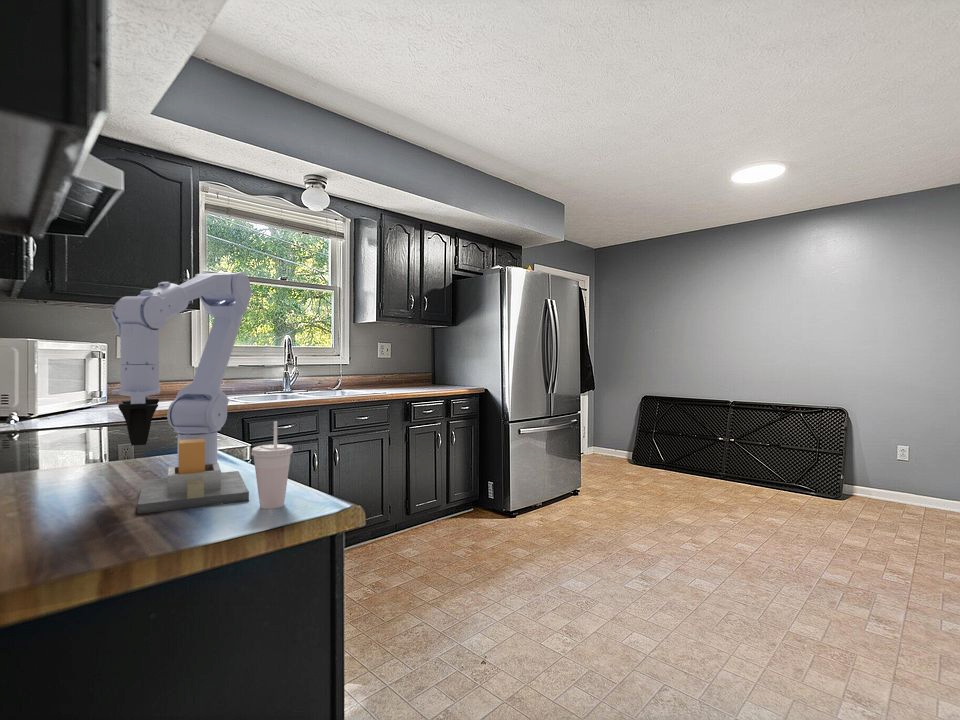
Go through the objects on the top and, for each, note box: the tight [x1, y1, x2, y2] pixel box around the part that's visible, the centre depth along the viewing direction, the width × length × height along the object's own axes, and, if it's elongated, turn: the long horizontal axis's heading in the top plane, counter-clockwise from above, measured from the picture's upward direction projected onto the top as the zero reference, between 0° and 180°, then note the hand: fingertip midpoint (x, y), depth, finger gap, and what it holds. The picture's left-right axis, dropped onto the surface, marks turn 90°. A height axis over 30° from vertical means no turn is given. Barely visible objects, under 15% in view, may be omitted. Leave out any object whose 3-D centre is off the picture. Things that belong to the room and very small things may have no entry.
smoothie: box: [251, 420, 294, 510], centre depth 87 cm, size 6×6×14 cm
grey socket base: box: [136, 462, 250, 515], centre depth 94 cm, size 18×16×4 cm
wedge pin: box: [179, 439, 205, 474], centre depth 94 cm, size 4×4×8 cm
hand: (139, 441), depth 93 cm, fingers open, 7 cm apart
